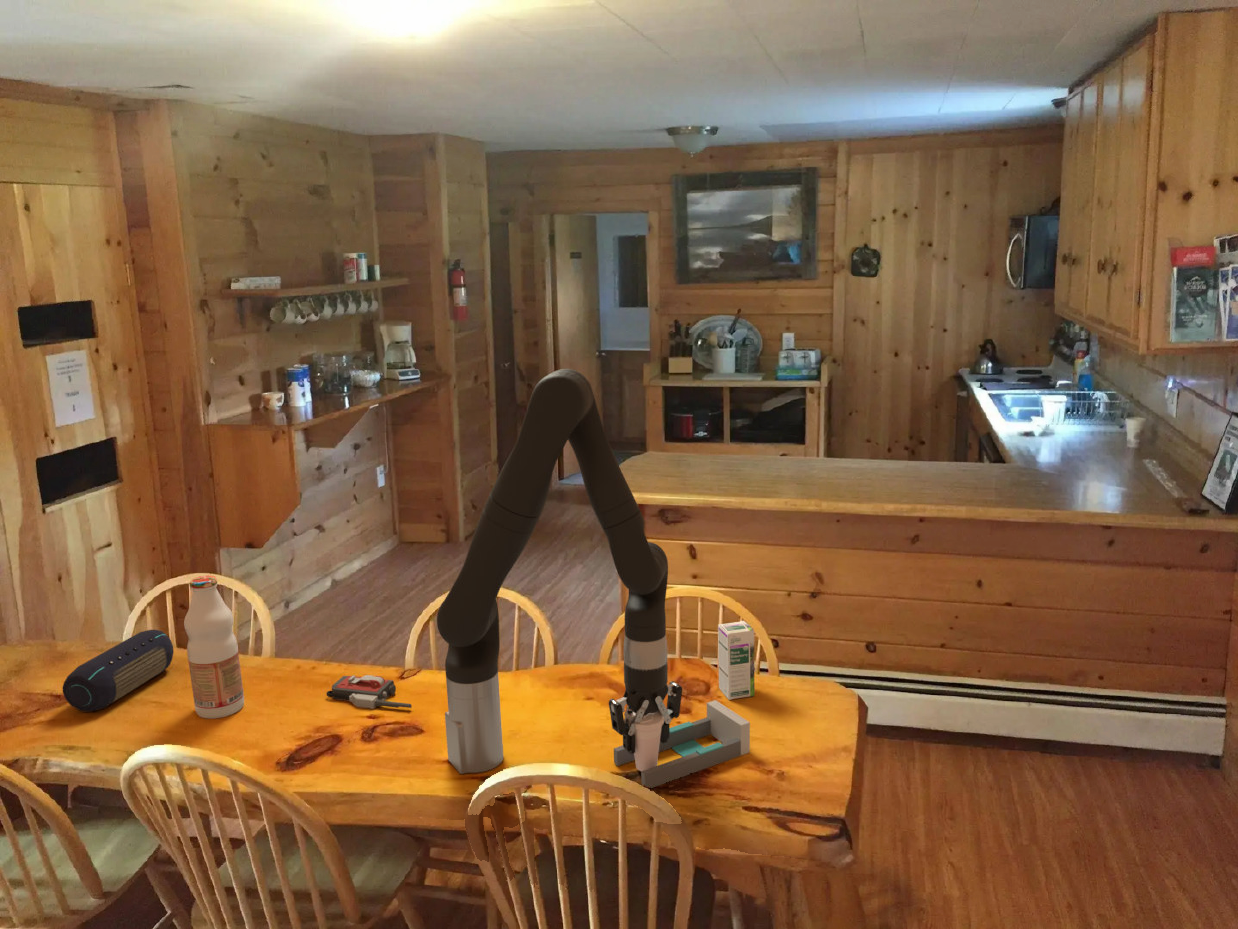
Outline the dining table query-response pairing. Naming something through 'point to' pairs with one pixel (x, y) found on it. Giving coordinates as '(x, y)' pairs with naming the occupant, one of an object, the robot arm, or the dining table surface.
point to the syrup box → (736, 659)
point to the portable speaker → (118, 670)
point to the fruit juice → (212, 652)
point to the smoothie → (647, 740)
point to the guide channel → (696, 745)
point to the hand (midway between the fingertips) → (646, 746)
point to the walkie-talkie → (365, 691)
